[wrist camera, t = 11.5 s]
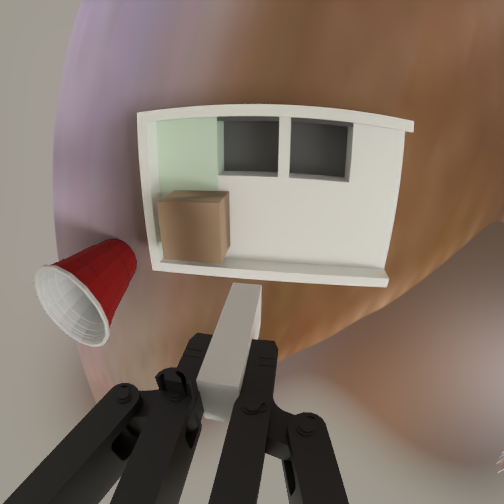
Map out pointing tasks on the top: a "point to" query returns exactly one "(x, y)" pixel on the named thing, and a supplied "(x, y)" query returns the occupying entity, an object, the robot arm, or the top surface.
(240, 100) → the top surface
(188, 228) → the walnut block
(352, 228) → the box
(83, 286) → the plastic cup
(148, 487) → the robot arm
